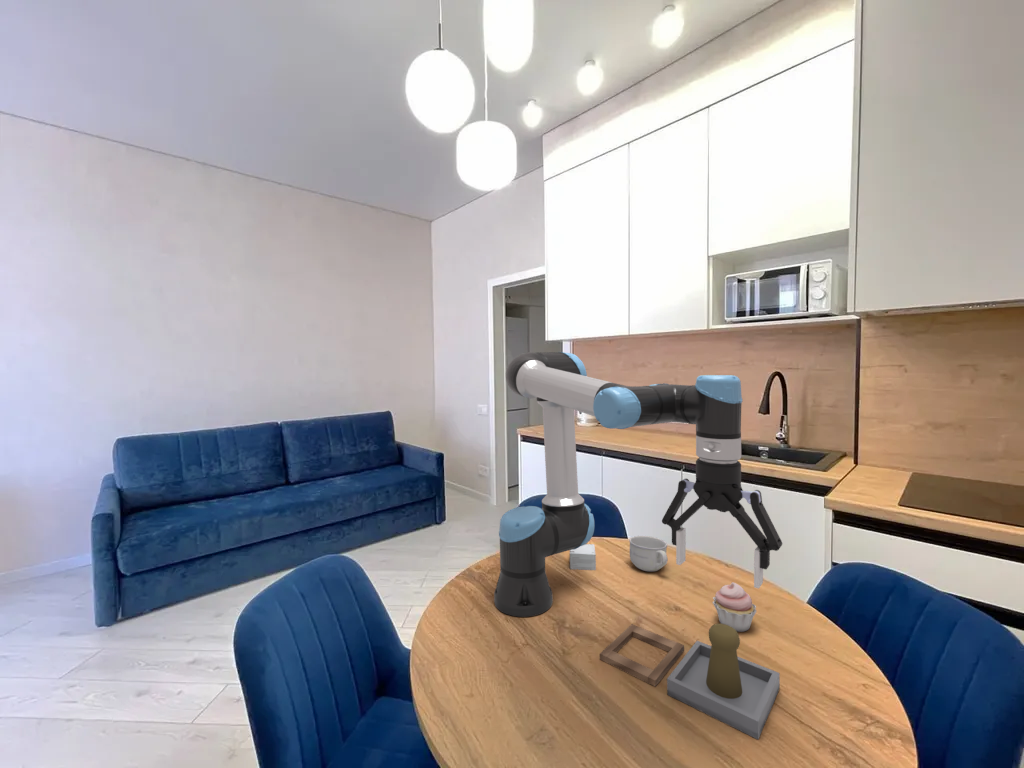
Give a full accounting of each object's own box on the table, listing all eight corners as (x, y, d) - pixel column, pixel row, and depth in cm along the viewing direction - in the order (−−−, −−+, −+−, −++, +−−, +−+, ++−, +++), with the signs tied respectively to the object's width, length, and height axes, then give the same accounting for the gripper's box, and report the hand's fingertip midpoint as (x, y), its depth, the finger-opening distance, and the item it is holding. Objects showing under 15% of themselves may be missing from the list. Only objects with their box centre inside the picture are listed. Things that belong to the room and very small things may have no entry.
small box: (595, 559, 139) (595, 543, 139) (596, 571, 131) (595, 554, 131) (570, 558, 140) (570, 542, 140) (569, 569, 132) (569, 553, 132)
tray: (667, 694, 81) (667, 678, 81) (697, 654, 92) (697, 640, 92) (758, 739, 71) (758, 721, 71) (779, 688, 82) (779, 672, 82)
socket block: (599, 659, 91) (599, 653, 91) (631, 629, 101) (631, 623, 101) (655, 686, 83) (655, 680, 83) (684, 650, 93) (684, 645, 93)
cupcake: (707, 611, 108) (707, 571, 108) (749, 615, 106) (749, 574, 106) (717, 634, 99) (717, 590, 99) (763, 638, 97) (763, 594, 97)
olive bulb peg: (746, 701, 78) (746, 639, 77) (710, 696, 79) (710, 636, 79) (737, 677, 84) (737, 620, 83) (703, 673, 85) (702, 617, 85)
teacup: (624, 560, 137) (624, 535, 137) (657, 558, 139) (657, 533, 138) (642, 582, 124) (642, 553, 123) (679, 579, 125) (679, 551, 124)
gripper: (644, 454, 86) (644, 560, 87) (793, 473, 70) (791, 605, 70) (661, 448, 92) (661, 548, 93) (802, 465, 75) (800, 587, 76)
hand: (717, 573), depth 82 cm, fingers open, 13 cm apart
